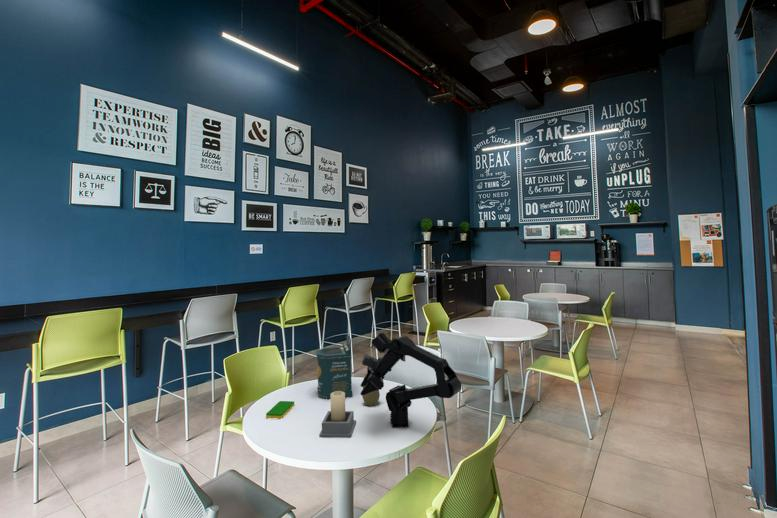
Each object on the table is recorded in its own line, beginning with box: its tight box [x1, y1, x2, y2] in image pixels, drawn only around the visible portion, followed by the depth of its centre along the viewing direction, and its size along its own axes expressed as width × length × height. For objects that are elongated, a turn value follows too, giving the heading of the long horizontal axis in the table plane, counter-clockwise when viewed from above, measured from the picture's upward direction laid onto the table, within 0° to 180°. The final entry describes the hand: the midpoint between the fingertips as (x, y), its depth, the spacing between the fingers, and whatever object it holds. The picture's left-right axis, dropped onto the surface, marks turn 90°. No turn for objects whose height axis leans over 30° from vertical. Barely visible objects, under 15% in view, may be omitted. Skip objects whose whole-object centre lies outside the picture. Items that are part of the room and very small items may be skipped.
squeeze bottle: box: [361, 366, 381, 407], centre depth 164 cm, size 8×8×18 cm
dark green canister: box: [315, 332, 353, 401], centre depth 178 cm, size 16×16×28 cm
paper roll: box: [330, 391, 346, 422], centre depth 140 cm, size 6×6×13 cm
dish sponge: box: [265, 400, 295, 420], centre depth 158 cm, size 7×14×2 cm, turn 172°
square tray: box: [319, 410, 357, 438], centre depth 140 cm, size 12×12×5 cm
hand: (361, 390), depth 144 cm, fingers open, 9 cm apart
